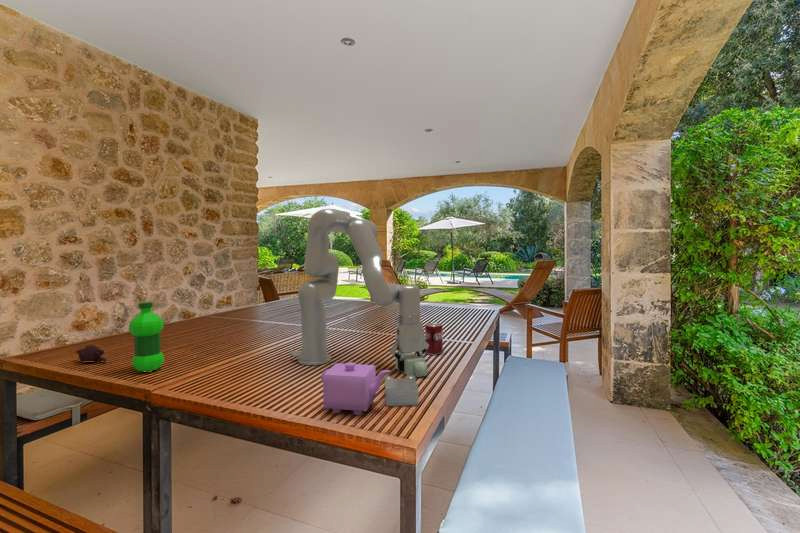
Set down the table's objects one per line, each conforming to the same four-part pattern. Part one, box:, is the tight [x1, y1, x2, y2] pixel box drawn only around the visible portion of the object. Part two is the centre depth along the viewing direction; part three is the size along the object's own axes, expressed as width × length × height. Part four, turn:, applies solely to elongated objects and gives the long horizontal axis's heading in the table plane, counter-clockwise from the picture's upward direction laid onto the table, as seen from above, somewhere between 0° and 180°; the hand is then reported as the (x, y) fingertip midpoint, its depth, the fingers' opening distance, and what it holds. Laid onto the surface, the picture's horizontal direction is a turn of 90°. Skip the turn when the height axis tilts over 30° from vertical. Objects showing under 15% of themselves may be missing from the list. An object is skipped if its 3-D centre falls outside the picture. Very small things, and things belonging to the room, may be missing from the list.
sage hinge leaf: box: [394, 352, 429, 378], centre depth 136 cm, size 6×14×5 cm, turn 29°
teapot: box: [320, 361, 391, 416], centre depth 107 cm, size 20×10×12 cm, turn 79°
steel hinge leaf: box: [384, 375, 419, 407], centre depth 114 cm, size 9×12×5 cm
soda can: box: [424, 322, 444, 356], centre depth 160 cm, size 7×7×12 cm
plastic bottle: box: [128, 301, 165, 372], centre depth 140 cm, size 10×10×25 cm
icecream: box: [75, 344, 107, 362], centre depth 152 cm, size 7×7×15 cm
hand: (410, 368), depth 138 cm, fingers closed on sage hinge leaf, 6 cm apart
